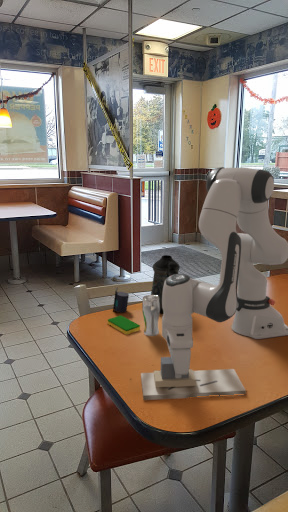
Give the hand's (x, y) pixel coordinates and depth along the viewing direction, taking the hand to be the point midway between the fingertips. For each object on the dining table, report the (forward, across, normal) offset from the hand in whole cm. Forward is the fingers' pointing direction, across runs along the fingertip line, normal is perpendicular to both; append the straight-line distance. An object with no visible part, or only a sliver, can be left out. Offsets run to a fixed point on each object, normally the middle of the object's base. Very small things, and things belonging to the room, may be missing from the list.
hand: (176, 372), depth 116 cm
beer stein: (+5, -63, +6) cm, 64 cm away
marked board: (+5, 0, +5) cm, 7 cm away
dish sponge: (+6, -45, -15) cm, 48 cm away
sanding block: (+3, 0, -1) cm, 3 cm away
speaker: (+5, -63, -16) cm, 66 cm away
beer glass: (+5, -38, -4) cm, 39 cm away
